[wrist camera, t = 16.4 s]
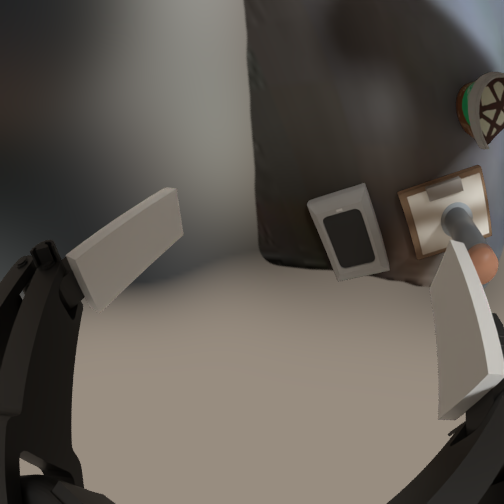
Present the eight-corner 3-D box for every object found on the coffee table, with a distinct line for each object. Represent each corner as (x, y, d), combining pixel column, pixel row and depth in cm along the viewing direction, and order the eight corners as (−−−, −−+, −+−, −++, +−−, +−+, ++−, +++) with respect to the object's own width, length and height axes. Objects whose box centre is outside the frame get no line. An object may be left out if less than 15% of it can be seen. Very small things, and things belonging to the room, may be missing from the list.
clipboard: (397, 192, 36) (399, 197, 34) (478, 164, 28) (483, 168, 26) (416, 256, 40) (418, 263, 38) (489, 232, 31) (494, 238, 30)
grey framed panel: (337, 285, 45) (304, 208, 40) (339, 273, 48) (309, 199, 43) (390, 274, 40) (365, 189, 35) (389, 262, 43) (364, 182, 38)
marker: (441, 210, 33) (466, 258, 23) (466, 203, 30) (498, 247, 20) (447, 236, 34) (468, 289, 24) (470, 229, 32) (498, 279, 22)
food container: (477, 59, 19) (507, 53, 11) (502, 92, 19) (536, 96, 12) (432, 105, 27) (455, 108, 19) (459, 137, 27) (486, 152, 19)
